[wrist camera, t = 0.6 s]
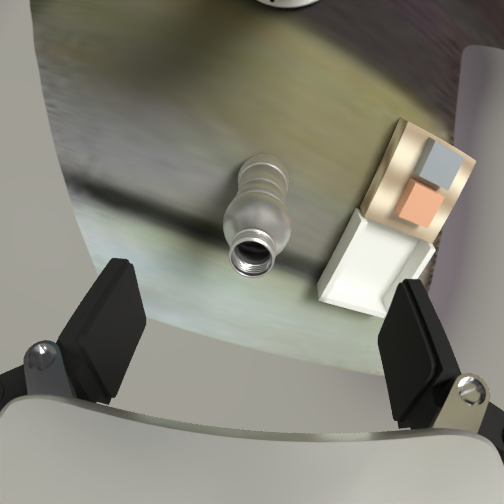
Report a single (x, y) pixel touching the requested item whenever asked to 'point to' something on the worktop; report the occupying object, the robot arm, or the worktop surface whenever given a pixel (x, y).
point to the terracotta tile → (419, 203)
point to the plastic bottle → (258, 216)
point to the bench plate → (398, 174)
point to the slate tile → (438, 164)
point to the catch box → (371, 265)
